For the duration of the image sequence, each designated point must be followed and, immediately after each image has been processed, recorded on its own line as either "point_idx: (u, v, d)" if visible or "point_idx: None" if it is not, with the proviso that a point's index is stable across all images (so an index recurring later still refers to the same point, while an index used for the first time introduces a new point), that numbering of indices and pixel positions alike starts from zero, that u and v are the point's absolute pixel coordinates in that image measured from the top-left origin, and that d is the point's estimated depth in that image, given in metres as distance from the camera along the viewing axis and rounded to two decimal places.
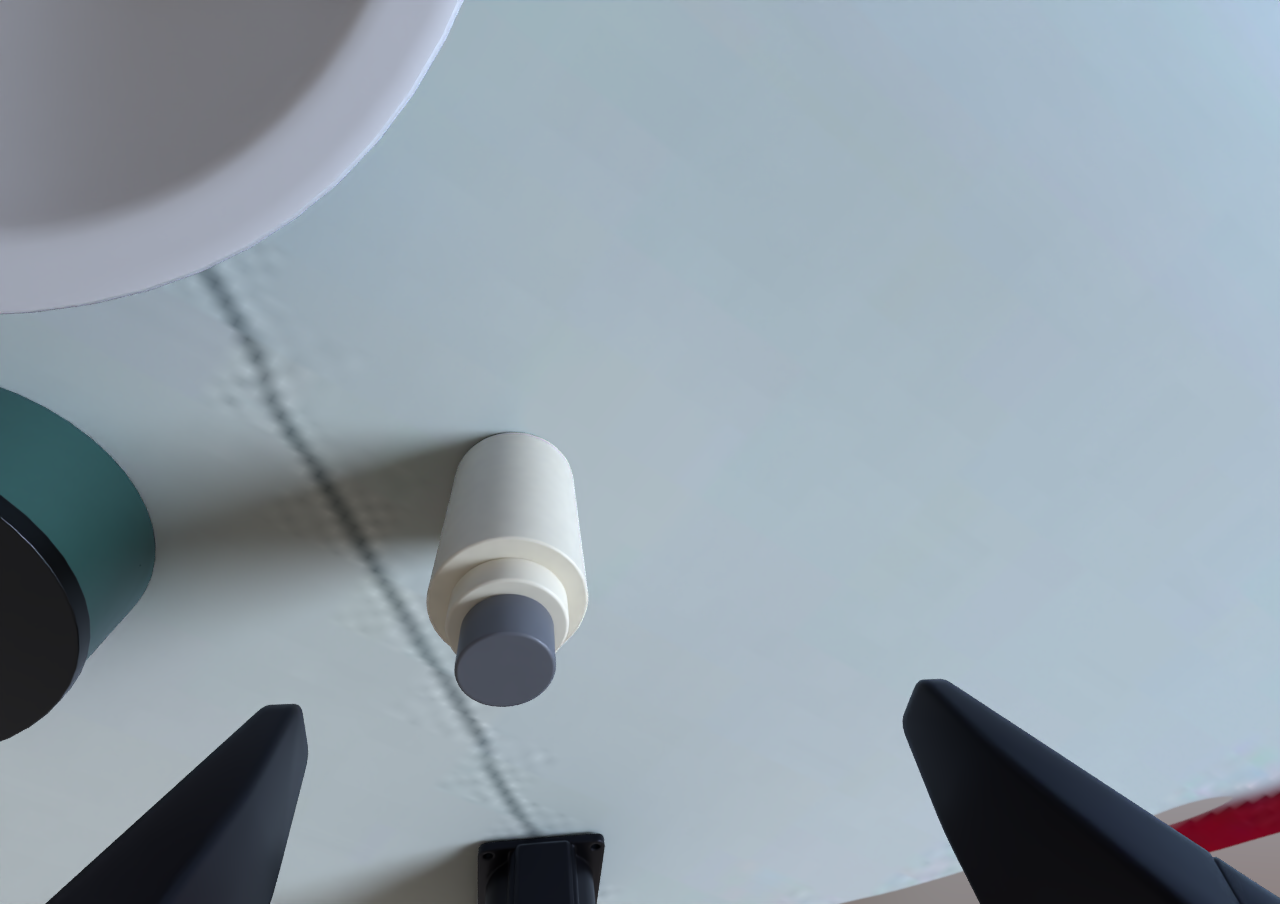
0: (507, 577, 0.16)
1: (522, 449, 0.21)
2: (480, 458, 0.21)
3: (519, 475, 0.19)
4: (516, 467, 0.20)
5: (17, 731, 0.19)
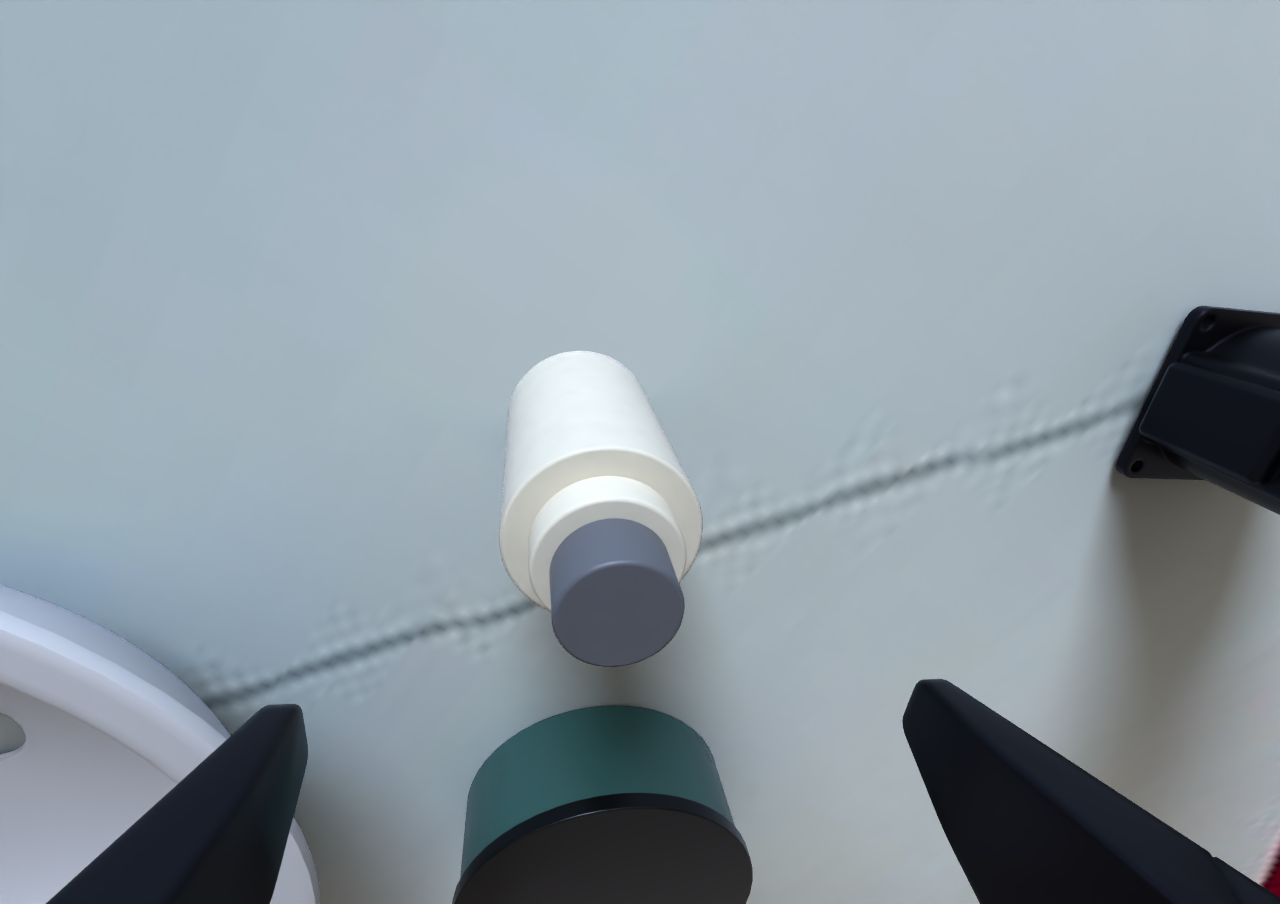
0: (530, 566, 0.12)
1: (507, 427, 0.18)
2: None
3: None
4: None
5: (739, 844, 0.23)
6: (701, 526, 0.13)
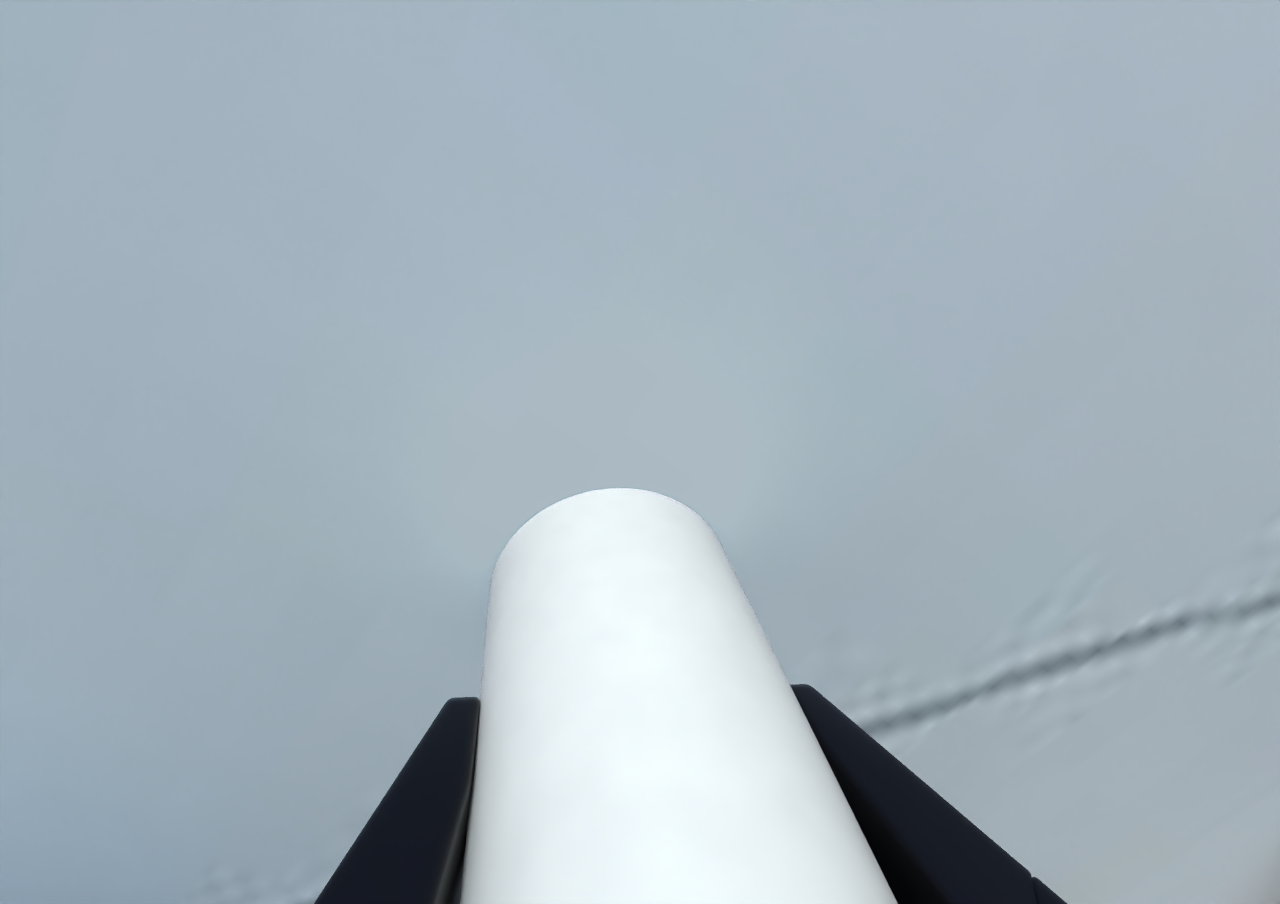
0: None
1: None
2: None
3: None
4: None
5: None
6: None
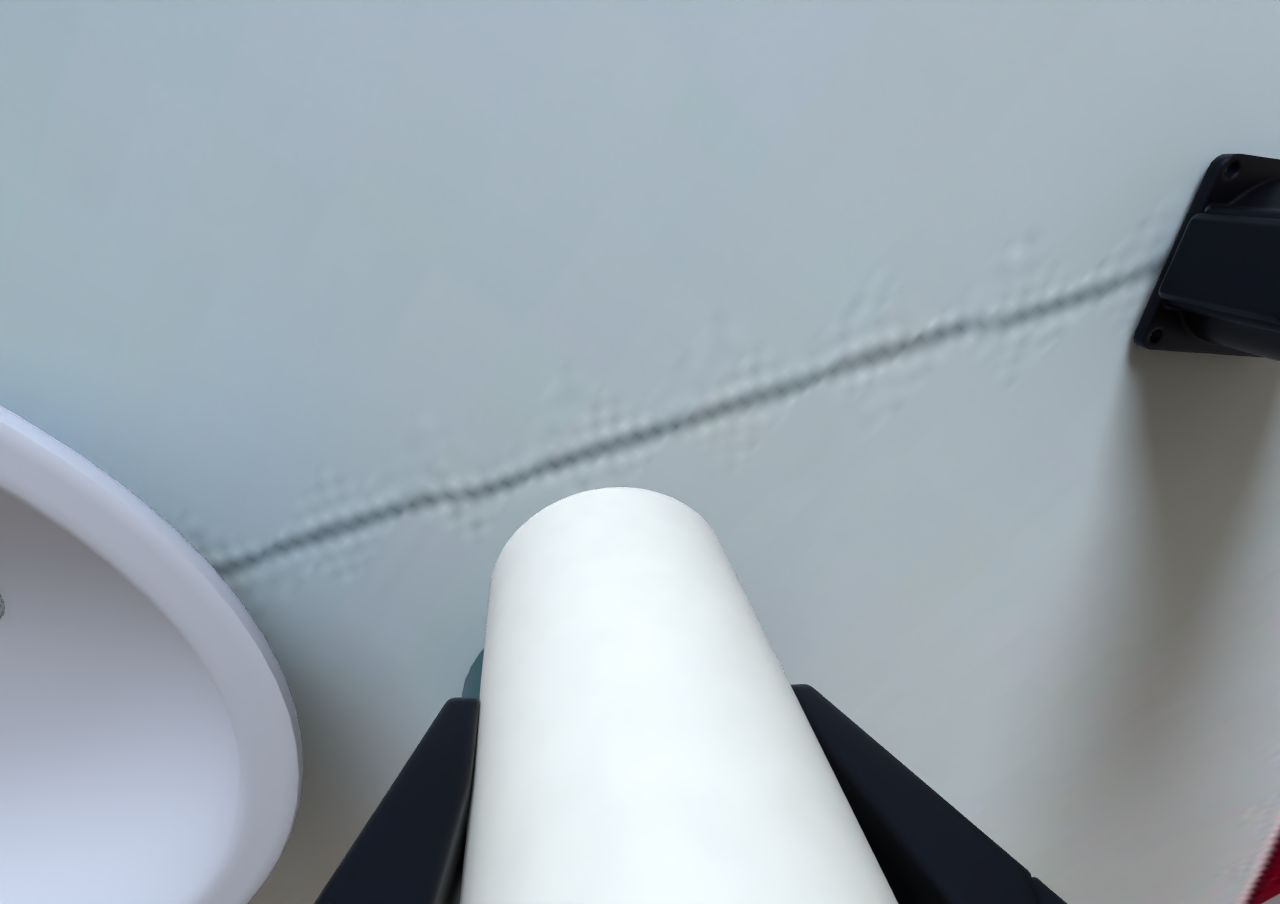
0: None
1: None
2: None
3: None
4: None
5: None
6: None
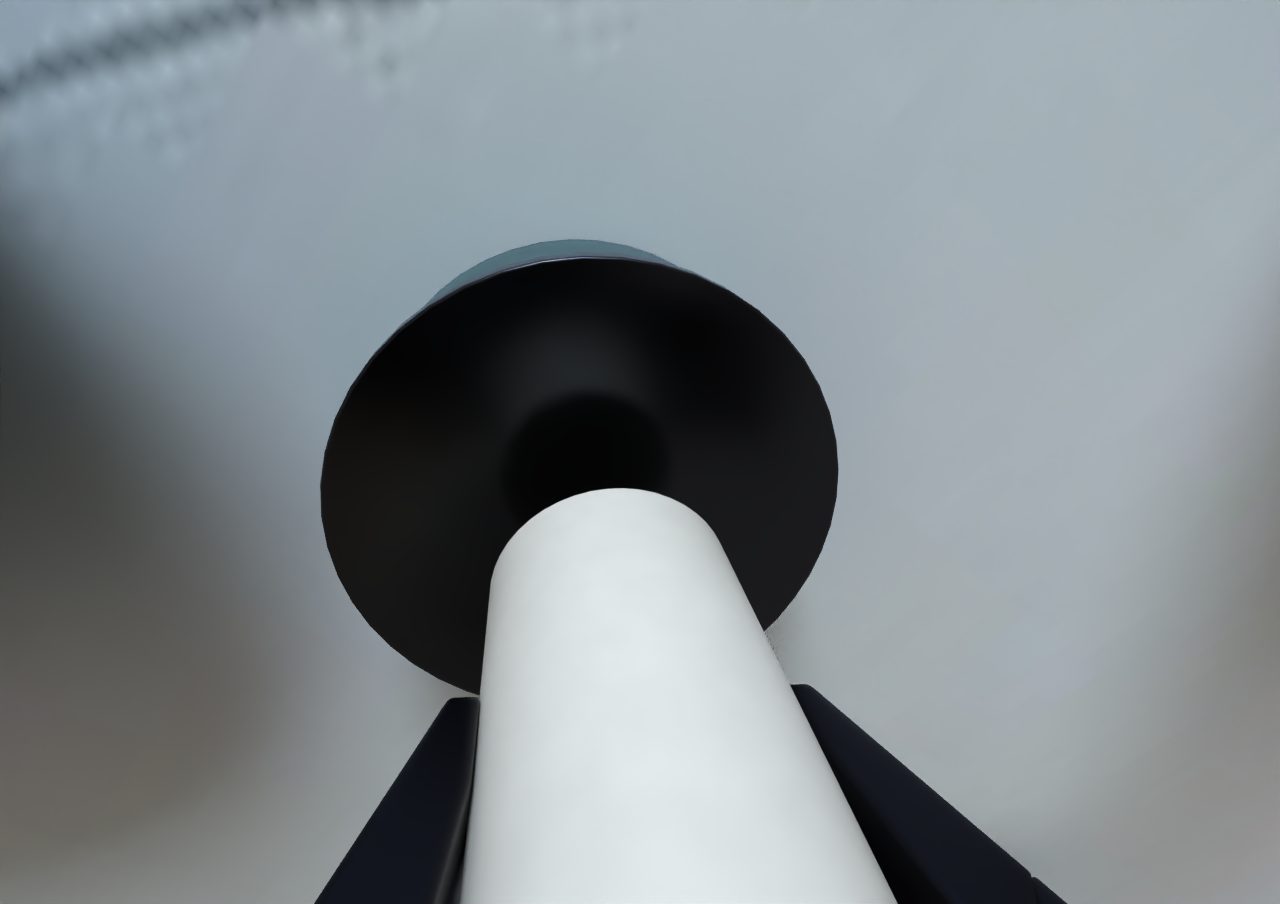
0: None
1: None
2: None
3: None
4: None
5: (821, 400, 0.13)
6: None
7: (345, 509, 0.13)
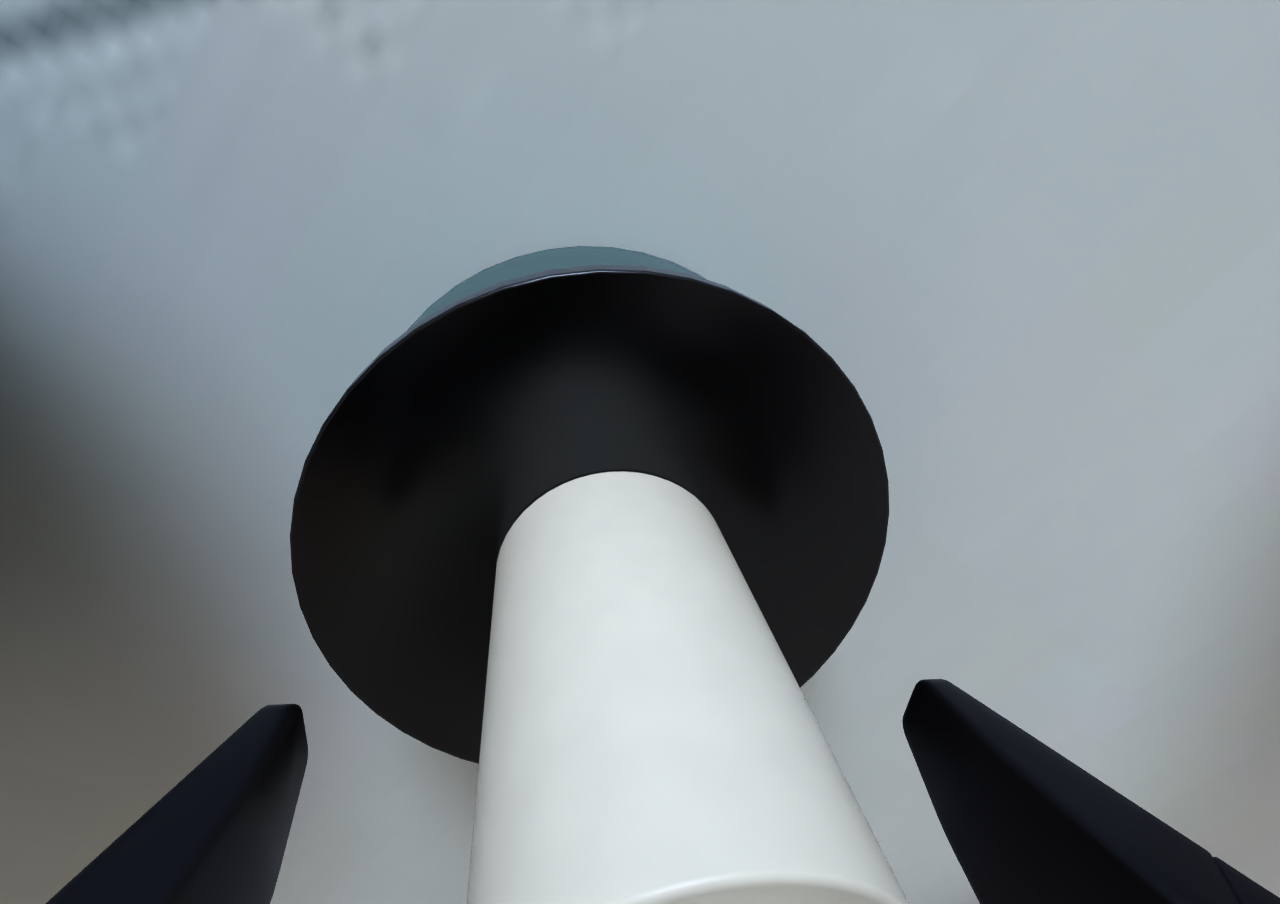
0: None
1: (492, 615, 0.10)
2: None
3: (483, 713, 0.08)
4: (485, 691, 0.09)
5: (873, 435, 0.11)
6: None
7: (320, 563, 0.11)
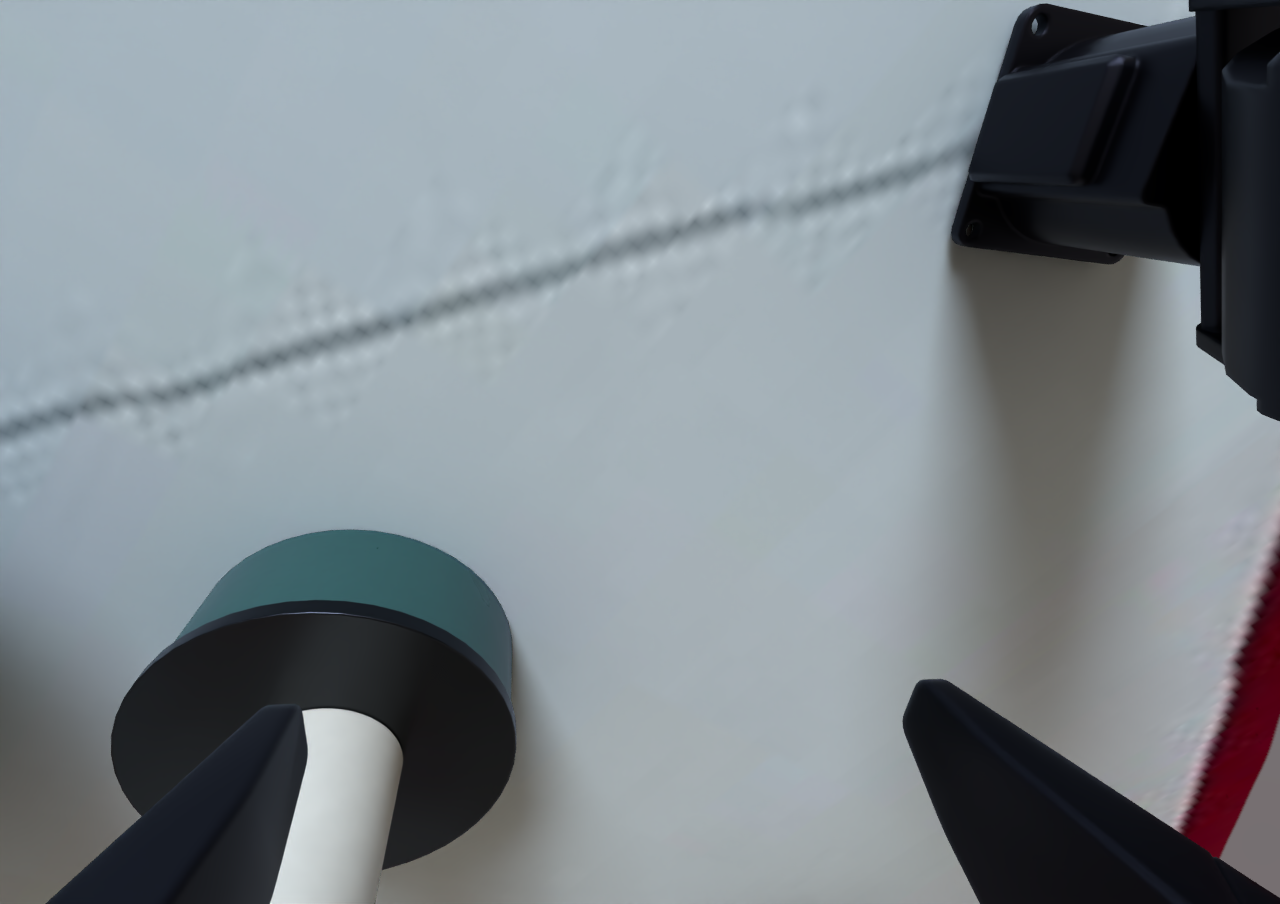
0: None
1: None
2: None
3: None
4: None
5: (484, 678, 0.19)
6: None
7: (132, 767, 0.18)
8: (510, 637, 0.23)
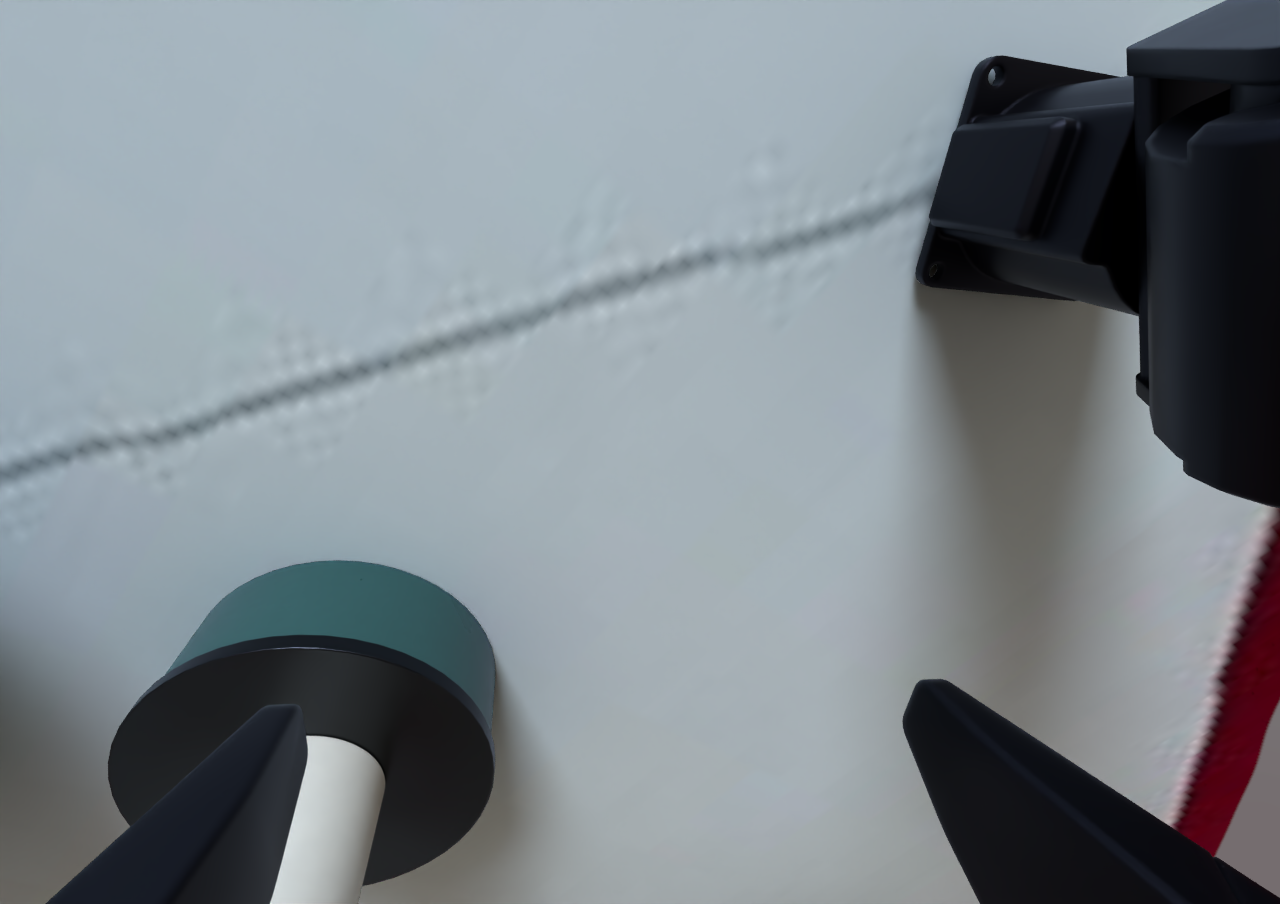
0: None
1: None
2: None
3: None
4: None
5: (461, 707, 0.19)
6: None
7: (128, 791, 0.19)
8: (493, 660, 0.24)
